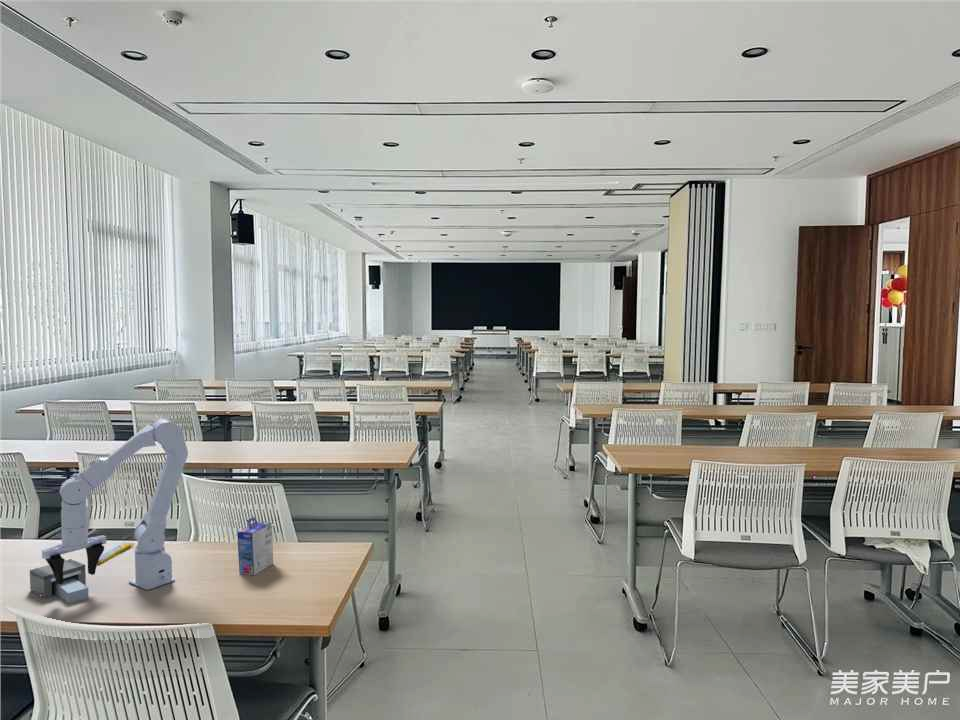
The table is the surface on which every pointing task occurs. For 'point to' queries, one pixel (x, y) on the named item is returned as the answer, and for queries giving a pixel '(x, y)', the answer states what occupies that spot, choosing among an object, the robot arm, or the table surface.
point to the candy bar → (114, 552)
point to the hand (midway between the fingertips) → (75, 578)
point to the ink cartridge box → (255, 547)
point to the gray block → (45, 576)
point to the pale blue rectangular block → (70, 589)
